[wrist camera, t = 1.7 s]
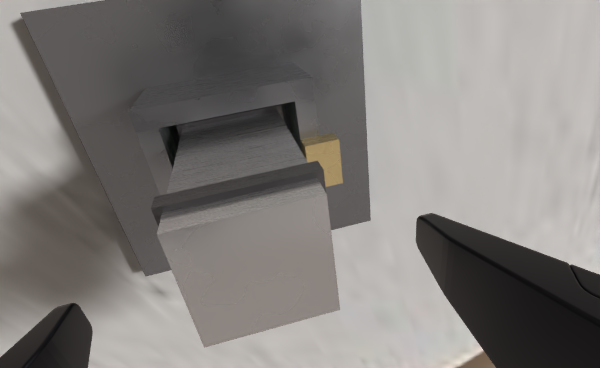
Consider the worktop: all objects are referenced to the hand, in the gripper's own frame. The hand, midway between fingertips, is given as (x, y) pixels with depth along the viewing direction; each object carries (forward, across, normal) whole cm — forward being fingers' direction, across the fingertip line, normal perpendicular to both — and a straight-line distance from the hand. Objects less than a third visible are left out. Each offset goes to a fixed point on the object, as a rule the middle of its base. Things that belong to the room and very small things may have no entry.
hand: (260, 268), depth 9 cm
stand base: (+11, 0, 0) cm, 11 cm away
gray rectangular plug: (+10, 0, 0) cm, 10 cm away
